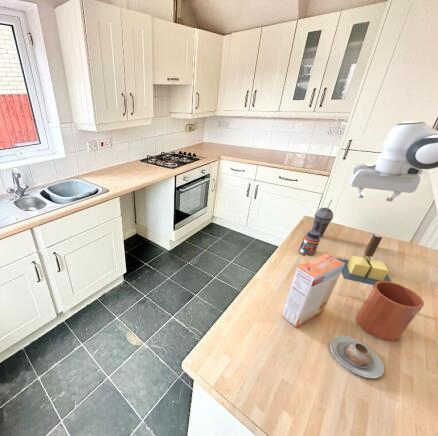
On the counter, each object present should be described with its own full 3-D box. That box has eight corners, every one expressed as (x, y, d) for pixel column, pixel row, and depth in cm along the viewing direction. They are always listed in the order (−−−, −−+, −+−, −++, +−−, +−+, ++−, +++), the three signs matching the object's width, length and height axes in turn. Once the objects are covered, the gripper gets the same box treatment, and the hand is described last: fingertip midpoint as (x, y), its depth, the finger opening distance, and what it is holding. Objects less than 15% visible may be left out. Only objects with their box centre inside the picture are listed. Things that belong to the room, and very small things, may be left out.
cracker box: (306, 300, 86) (326, 252, 75) (323, 312, 81) (347, 263, 71) (278, 314, 80) (296, 265, 70) (295, 328, 76) (316, 278, 66)
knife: (362, 264, 100) (379, 232, 93) (366, 271, 96) (383, 239, 89) (356, 263, 101) (372, 231, 94) (360, 270, 97) (377, 238, 90)
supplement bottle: (300, 256, 107) (308, 235, 102) (296, 248, 112) (304, 227, 107) (315, 258, 106) (324, 236, 100) (311, 250, 111) (319, 229, 105)
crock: (391, 318, 78) (413, 286, 71) (405, 346, 70) (432, 313, 63) (352, 308, 82) (369, 276, 75) (361, 333, 74) (381, 301, 67)
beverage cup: (304, 234, 123) (316, 198, 113) (314, 231, 125) (327, 195, 115) (317, 241, 117) (332, 204, 107) (328, 238, 119) (343, 201, 109)
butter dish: (382, 269, 99) (383, 267, 98) (396, 292, 88) (397, 290, 87) (335, 259, 105) (336, 257, 104) (342, 280, 94) (343, 278, 93)
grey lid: (321, 354, 68) (327, 343, 66) (337, 330, 75) (343, 320, 72) (375, 390, 60) (383, 380, 58) (388, 361, 66) (396, 350, 64)
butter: (377, 271, 96) (383, 261, 94) (382, 281, 92) (388, 270, 89) (346, 264, 100) (351, 255, 98) (350, 274, 95) (355, 264, 93)
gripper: (358, 165, 94) (345, 198, 101) (429, 171, 86) (409, 206, 93) (354, 161, 99) (341, 192, 106) (420, 166, 92) (402, 200, 98)
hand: (374, 199), depth 99 cm, fingers open, 8 cm apart
